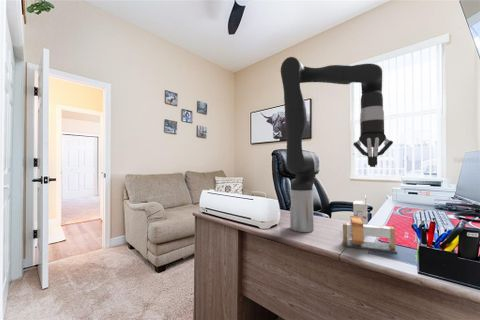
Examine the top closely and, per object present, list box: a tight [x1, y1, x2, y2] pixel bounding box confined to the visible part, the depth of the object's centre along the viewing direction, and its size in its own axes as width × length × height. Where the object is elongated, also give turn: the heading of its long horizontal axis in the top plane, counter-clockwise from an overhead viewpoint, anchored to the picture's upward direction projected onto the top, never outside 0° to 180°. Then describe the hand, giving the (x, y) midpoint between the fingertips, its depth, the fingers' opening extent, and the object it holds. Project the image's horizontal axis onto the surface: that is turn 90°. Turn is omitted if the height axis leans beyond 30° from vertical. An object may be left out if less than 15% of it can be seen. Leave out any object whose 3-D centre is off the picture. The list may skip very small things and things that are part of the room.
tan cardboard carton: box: [349, 215, 365, 245], centre depth 72 cm, size 3×10×7 cm, turn 156°
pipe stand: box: [342, 222, 398, 254], centre depth 71 cm, size 15×6×7 cm, turn 66°
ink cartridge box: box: [352, 194, 369, 225], centre depth 89 cm, size 9×5×15 cm, turn 148°
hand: (372, 166), depth 78 cm, fingers closed
